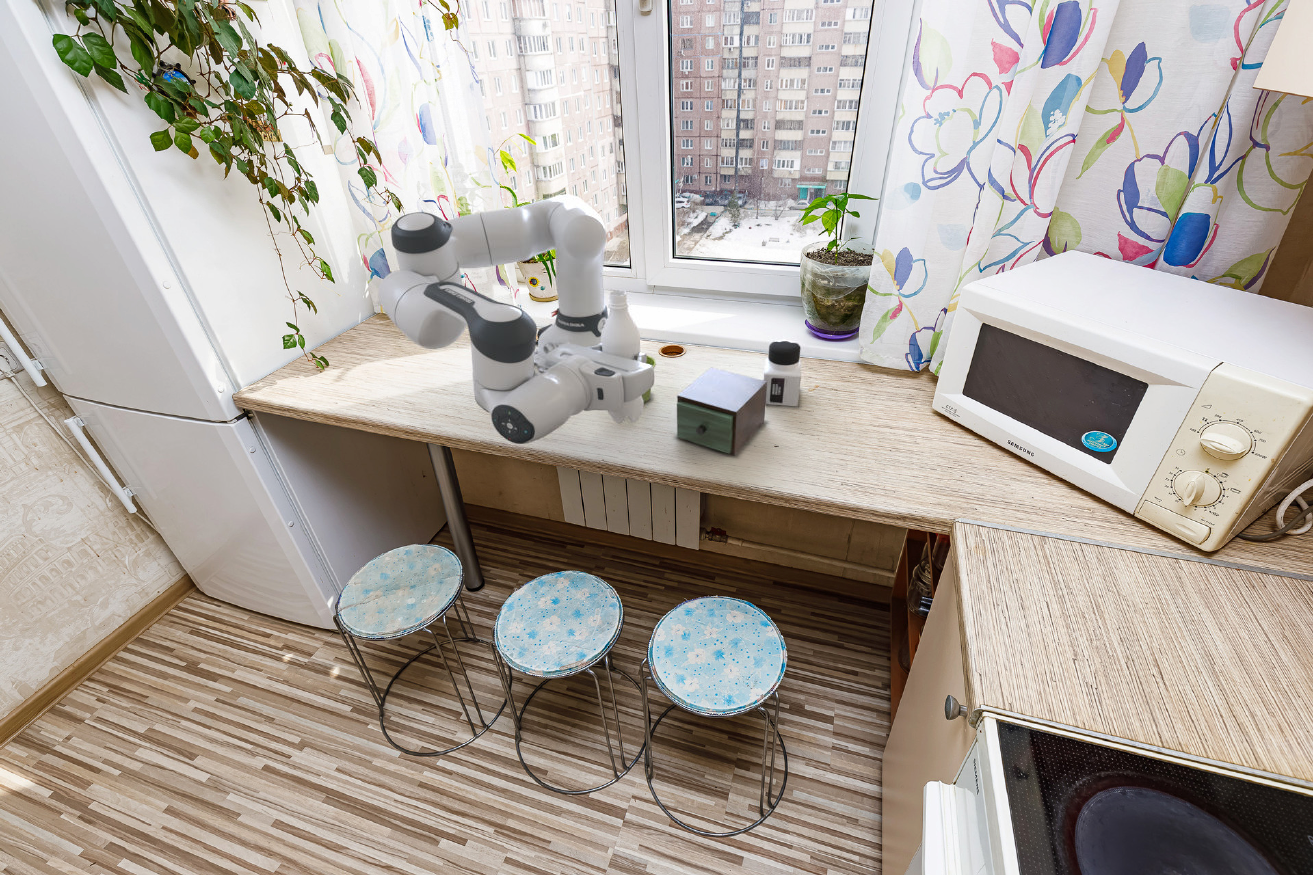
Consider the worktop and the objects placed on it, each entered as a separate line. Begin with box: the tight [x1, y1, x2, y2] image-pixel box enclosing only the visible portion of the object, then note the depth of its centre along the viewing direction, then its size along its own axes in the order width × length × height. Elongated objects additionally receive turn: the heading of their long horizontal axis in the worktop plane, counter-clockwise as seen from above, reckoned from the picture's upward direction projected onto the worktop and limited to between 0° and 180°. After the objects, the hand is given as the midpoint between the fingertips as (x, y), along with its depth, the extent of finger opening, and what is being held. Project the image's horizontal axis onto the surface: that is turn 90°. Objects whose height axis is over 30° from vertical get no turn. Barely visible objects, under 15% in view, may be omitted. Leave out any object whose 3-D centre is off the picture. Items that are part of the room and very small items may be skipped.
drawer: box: [676, 401, 733, 455], centre depth 119 cm, size 14×12×8 cm
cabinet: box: [676, 367, 767, 456], centre depth 121 cm, size 14×13×10 cm
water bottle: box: [601, 289, 645, 424], centre depth 110 cm, size 7×7×25 cm
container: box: [763, 339, 802, 407], centre depth 131 cm, size 8×8×13 cm
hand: (624, 352), depth 110 cm, fingers closed on water bottle, 7 cm apart
